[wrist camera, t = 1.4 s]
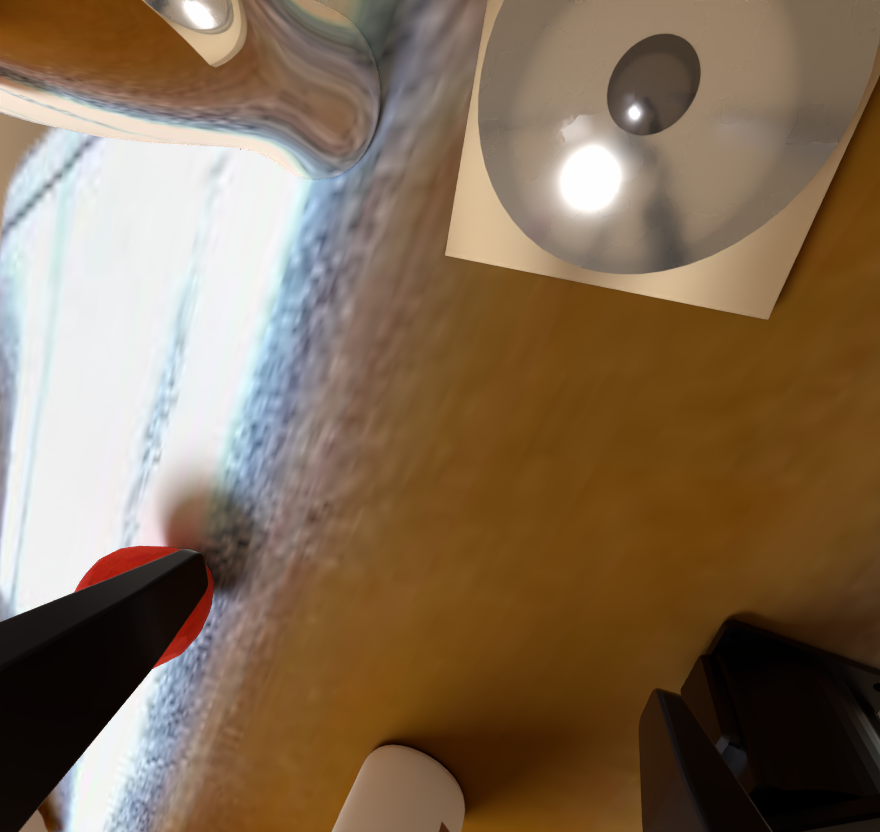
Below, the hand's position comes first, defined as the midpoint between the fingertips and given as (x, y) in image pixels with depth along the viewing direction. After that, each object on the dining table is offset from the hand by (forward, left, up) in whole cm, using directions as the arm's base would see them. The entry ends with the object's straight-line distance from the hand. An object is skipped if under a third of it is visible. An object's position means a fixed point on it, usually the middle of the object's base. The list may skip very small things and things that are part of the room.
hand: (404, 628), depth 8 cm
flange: (-2, -12, -13) cm, 18 cm away
